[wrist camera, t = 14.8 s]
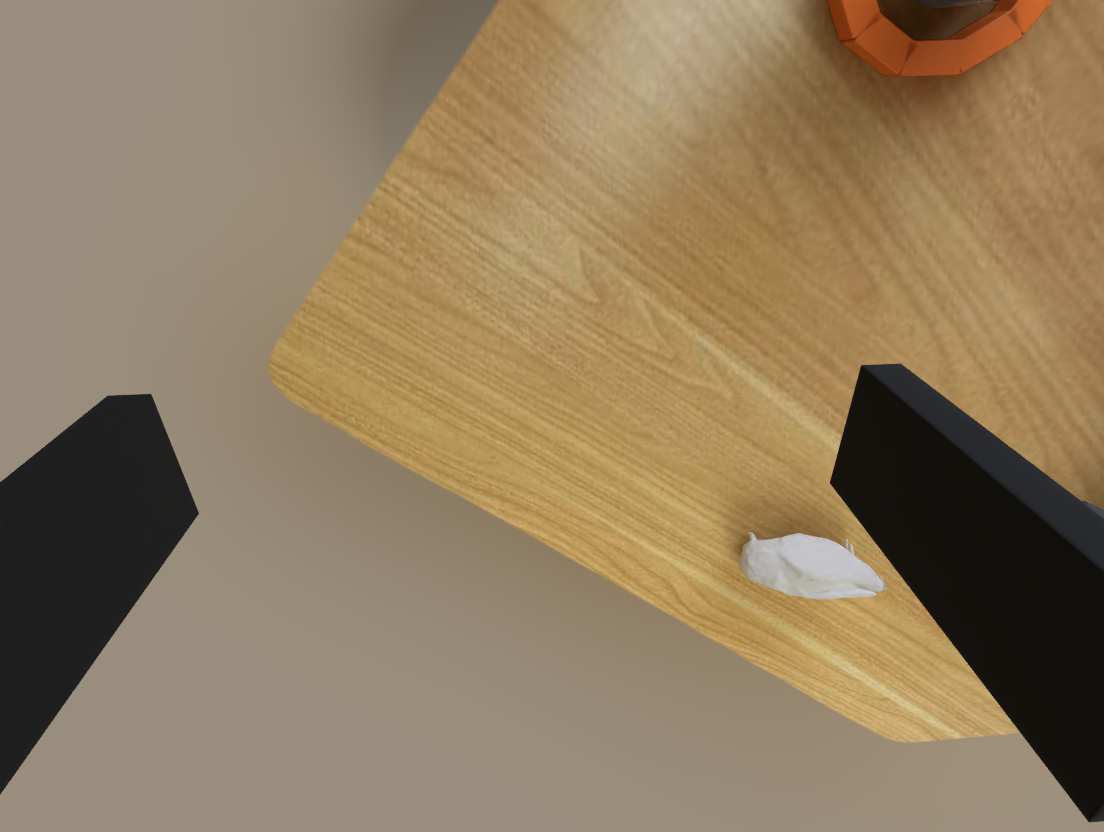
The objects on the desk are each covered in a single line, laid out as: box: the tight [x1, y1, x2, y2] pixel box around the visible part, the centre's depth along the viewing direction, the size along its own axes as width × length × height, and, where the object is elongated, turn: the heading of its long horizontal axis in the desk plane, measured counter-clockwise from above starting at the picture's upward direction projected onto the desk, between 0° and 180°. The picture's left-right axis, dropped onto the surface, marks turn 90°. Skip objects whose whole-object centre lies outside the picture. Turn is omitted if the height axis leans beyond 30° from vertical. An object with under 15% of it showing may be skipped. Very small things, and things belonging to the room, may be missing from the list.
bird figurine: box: [739, 532, 887, 599], centre depth 48 cm, size 5×7×10 cm
